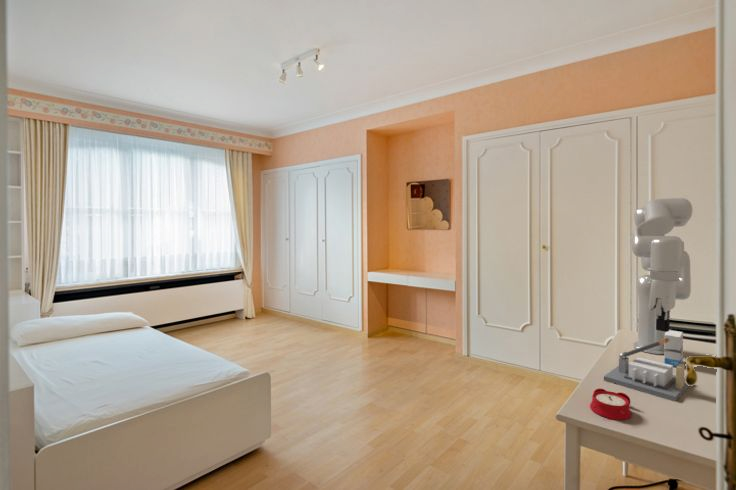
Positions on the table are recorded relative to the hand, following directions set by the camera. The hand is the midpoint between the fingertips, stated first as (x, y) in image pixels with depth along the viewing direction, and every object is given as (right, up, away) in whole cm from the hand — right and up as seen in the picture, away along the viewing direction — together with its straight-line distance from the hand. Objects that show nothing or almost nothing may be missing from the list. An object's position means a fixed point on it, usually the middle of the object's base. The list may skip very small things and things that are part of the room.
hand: (662, 330), depth 126 cm
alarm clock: (-25, -21, -11) cm, 34 cm away
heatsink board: (-2, -19, +5) cm, 20 cm away
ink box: (+19, -17, +20) cm, 33 cm away
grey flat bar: (-3, -8, +4) cm, 9 cm away
